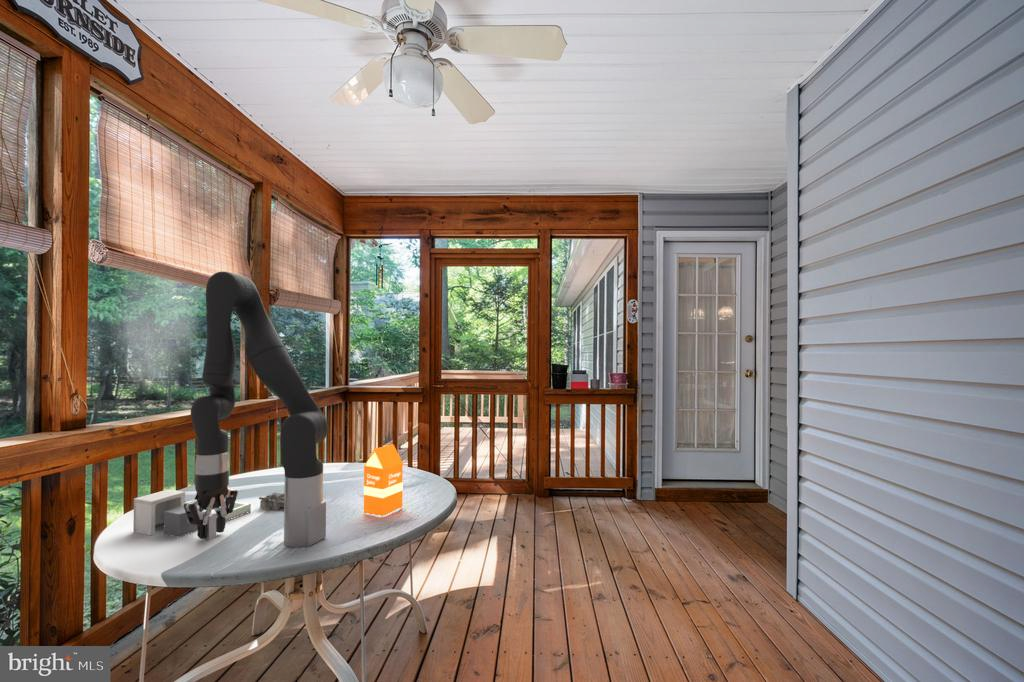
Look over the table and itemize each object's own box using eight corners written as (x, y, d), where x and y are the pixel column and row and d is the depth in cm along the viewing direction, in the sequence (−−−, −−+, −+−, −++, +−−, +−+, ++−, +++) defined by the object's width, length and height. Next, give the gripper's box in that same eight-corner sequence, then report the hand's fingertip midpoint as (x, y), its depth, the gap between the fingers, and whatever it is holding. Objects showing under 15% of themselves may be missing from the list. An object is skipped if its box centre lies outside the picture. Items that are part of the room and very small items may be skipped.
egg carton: (256, 510, 145) (256, 497, 145) (269, 502, 153) (269, 490, 153) (290, 510, 145) (290, 497, 145) (302, 502, 153) (301, 489, 153)
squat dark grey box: (221, 534, 126) (221, 512, 126) (203, 541, 121) (203, 518, 121) (182, 527, 131) (182, 505, 131) (163, 534, 126) (164, 511, 126)
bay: (184, 523, 133) (184, 491, 134) (150, 535, 125) (151, 501, 125) (167, 520, 136) (167, 489, 136) (133, 532, 127) (133, 498, 127)
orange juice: (363, 514, 141) (363, 447, 141) (384, 505, 149) (384, 442, 149) (382, 518, 138) (383, 450, 138) (403, 509, 145) (403, 445, 146)
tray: (250, 512, 143) (250, 503, 143) (220, 523, 134) (220, 514, 134) (203, 504, 150) (203, 496, 150) (171, 515, 140) (171, 506, 140)
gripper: (196, 478, 116) (195, 548, 116) (246, 464, 129) (245, 527, 129) (175, 475, 118) (174, 543, 118) (226, 462, 132) (225, 523, 132)
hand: (211, 534), depth 124 cm, fingers open, 4 cm apart
